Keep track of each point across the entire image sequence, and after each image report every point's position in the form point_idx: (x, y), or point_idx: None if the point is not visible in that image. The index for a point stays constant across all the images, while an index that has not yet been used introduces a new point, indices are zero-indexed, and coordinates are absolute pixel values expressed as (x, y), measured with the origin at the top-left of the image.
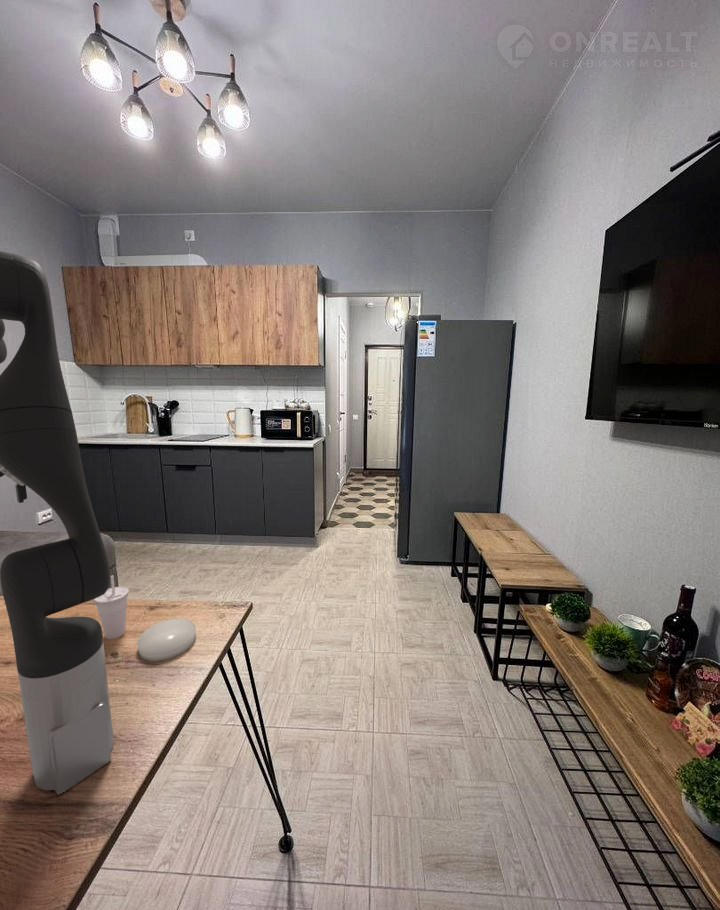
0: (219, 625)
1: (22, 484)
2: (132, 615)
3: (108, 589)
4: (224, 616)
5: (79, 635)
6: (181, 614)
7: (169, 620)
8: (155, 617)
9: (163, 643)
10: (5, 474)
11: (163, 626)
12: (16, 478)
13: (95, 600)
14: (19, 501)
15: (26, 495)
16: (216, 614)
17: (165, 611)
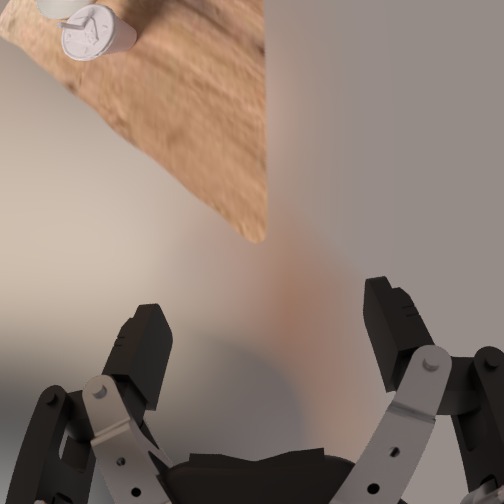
0: (21, 3)
1: (101, 382)
2: (96, 82)
3: (87, 56)
4: (10, 22)
5: None
6: (43, 49)
7: (55, 16)
8: (71, 58)
9: None
10: (144, 464)
11: (65, 4)
12: (109, 424)
13: (111, 18)
14: (153, 306)
15: (121, 334)
16: (14, 30)
17: (57, 69)
